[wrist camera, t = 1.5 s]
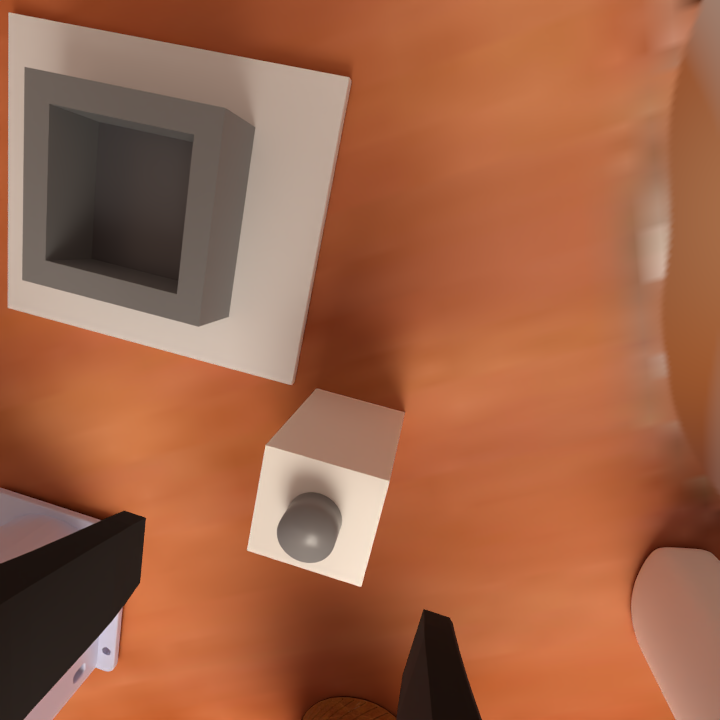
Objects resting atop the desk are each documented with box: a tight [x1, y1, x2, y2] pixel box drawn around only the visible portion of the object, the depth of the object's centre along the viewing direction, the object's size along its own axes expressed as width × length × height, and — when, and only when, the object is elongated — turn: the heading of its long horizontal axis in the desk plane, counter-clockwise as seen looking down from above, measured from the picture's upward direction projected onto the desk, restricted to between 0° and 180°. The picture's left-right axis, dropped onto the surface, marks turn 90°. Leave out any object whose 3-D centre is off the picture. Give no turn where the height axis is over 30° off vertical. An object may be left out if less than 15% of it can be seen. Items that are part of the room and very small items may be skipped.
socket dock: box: [8, 13, 352, 385], centre depth 18 cm, size 12×14×3 cm
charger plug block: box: [247, 388, 405, 587], centre depth 17 cm, size 4×4×7 cm
